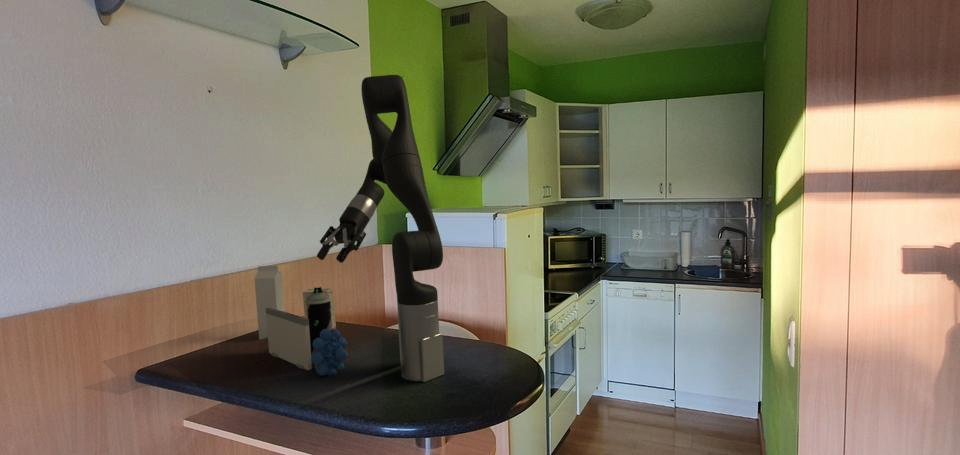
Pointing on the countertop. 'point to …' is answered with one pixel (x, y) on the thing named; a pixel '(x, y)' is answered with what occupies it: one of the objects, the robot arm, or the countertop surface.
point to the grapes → (329, 352)
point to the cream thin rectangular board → (289, 337)
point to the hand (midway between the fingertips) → (329, 259)
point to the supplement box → (330, 292)
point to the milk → (268, 295)
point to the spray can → (318, 314)
